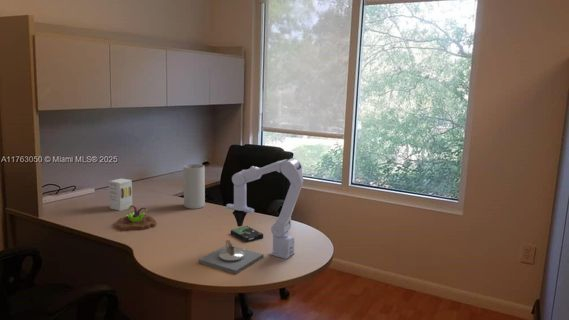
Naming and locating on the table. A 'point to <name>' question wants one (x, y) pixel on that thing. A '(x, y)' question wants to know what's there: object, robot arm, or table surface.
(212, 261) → the dial panel
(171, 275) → the table surface
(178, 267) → the table surface
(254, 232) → the disk drive
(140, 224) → the plant
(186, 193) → the cylinder vase
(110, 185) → the supplement box
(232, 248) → the dial
